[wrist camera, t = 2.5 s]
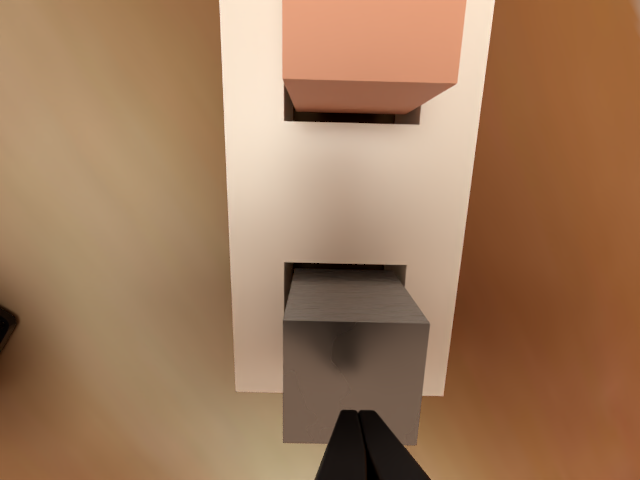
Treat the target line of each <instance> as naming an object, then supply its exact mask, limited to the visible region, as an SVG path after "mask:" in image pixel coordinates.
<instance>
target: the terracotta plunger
mask: <svg viewBox="0 0 640 480" xmlns="http://www.w3.org/2000/svg"><path fill="white" fill-rule="evenodd" d="M466 1H467V0H282V79H283V81H284V84H285V86H286V89H287V91H288V93H289V96H290V98H291V100H292V103H293V105H294V107H295V110H296V112H328V113H366V114H404V115H405V114H407V113H409V112H410V111H412V110H414V109H415V108H417V107H419V106H421V105H422V104H424V103H426V102H427V101H429V100H431V99H432V98H434V97H436V96H437V95H439V94H441V93H442V92H444V91H446V90H447V89H449V88H451V87H452V86H454V85H456V84H457V81H458V72H459V64H460V55H461V46H462V37H463V28H464V19H465V10H466Z"/></svg>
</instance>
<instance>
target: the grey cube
mask: <svg viewBox="0 0 640 480" xmlns="http://www.w3.org/2000/svg"><path fill="white" fill-rule="evenodd" d="M429 329H430V323H429V321H428V320H427V318H426V317H425V316H424V314H423V313H422V311H421V310H420V308H419V307H418V306H417V304H416V303H415V301H414V300H413V298H412V297H411V296H410V294H409V293H408V291H407V290H406V289H405V287H404V286H403V284H402V283H401V281H400V280H399V279H398V277H397V276H396V274H395V273H394V271H392V270H348V269H304V268H295V271H294V275H293V280H292V284H291V288H290V292H289V296H288V301H287V305H286V309H285V313H284V318H283V443H317V444H328V442H329V440H330V437H331V434H332V432H333V429H334V427H335V424H336V421H337V419H338V416H339V413H340V411H341V410H356V411H357V412H358V411H359V410H374V411H376V412H377V413H378V415H379V416H380V417H381V418H382V420H383V421H384V422H385V423H386V425H387V426H388V427H389V428H390V430H391V431H392V432H393V433H394V434H395V436H396V437H397V438H398V439H399V441H400V442H401V443H402V444H403V445H417V436H418V427H419V418H420V409H421V400H422V391H423V383H424V374H425V365H426V356H427V347H428V338H429Z"/></svg>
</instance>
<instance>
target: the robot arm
mask: <svg viewBox="0 0 640 480" xmlns="http://www.w3.org/2000/svg"><path fill="white" fill-rule="evenodd" d="M15 326H16V319H15V318H14V316H12V315H11V314H10V313H8V312H6V311H5V310H3V309H1V308H0V352H1V350H2V349H3V347H4V345H5V343H6V342H7V340H8V338H9V336H10V335H11V333H12V331H13V329H14V328H15ZM315 480H431V479H430V478H429V477H428V475H427V474H426V473H425V472H424V470H423V469H422V468H421V467H420V465H419V464H418V463H417V462H416V460H415V459H414V458H413V457H412V456H411V454H410V453H409V452H408V451H407V449H406V448H405V447H404V446H403V444H402V443H401V442H400V441H399V439H398V438H397V437H396V436H395V434H394V433H393V432H392V431H391V430H390V428H389V427H388V426H387V425H386V423H385V422H384V421H383V420H382V418H381V417H380V416H379V415H378V413H377V412H376V411H374V410H359V411H358V412H357V411H356V410H341V411H340V413H339V416H338V419H337V421H336V424H335V427H334V429H333V432H332V434H331V437H330V440H329V442H328V445H327V448H326V450H325V453H324V456H323V458H322V461H321V464H320V466H319V469H318V472H317V474H316V477H315Z"/></svg>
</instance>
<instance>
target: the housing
mask: <svg viewBox="0 0 640 480" xmlns="http://www.w3.org/2000/svg"><path fill="white" fill-rule="evenodd" d="M219 3H220V27H221V51H222V76H223V100H224V124H225V148H226V172H227V197H228V221H229V245H230V269H231V293H232V318H233V342H234V366H235V390H236V392H265V393H283V318H284V313H285V309H286V305H287V301H288V296H289V292H290V288H291V284H292V262H297V263H341V264H384V270H392V271H394V273H395V274H396V276H397V277H398V279H399V280H400V281H401V283H402V284H403V286H404V287H405V289H406V290H407V291H408V293H409V294H410V296H411V297H412V298H413V300H414V301H415V303H416V304H417V306H418V307H419V308H420V310H421V311H422V313H423V314H424V316H425V317H426V318H427V320H428V321H429V323H430V329H429V338H428V347H427V356H426V365H425V374H424V383H423V391H422V396H443V394H444V387H445V379H446V371H447V364H448V356H449V348H450V341H451V333H452V325H453V318H454V310H455V302H456V294H457V287H458V279H459V271H460V264H461V256H462V248H463V241H464V233H465V225H466V218H467V210H468V202H469V195H470V187H471V179H472V172H473V164H474V156H475V149H476V141H477V133H478V126H479V118H480V110H481V103H482V95H483V87H484V79H485V72H486V64H487V56H488V49H489V41H490V33H491V26H492V18H493V10H494V3H495V0H467V1H466V10H465V19H464V28H463V37H462V46H461V55H460V64H459V72H458V81H457V84H456V85H454V86H452V87H451V88H449V89H447V90H446V91H444V92H442V93H441V94H439V95H437V96H436V97H434V98H432V99H431V100H429V101H427V102H426V103H424V104H422V105H421V106H419V107H417V108H415V109H414V110H412V111H410V112H409V113H407V114H405V115H404V114H395V124H372V123H333V122H295V121H293V103H292V100H291V98H290V96H289V93H288V91H287V89H286V86H285V84H284V81H283V79H282V0H219Z"/></svg>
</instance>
